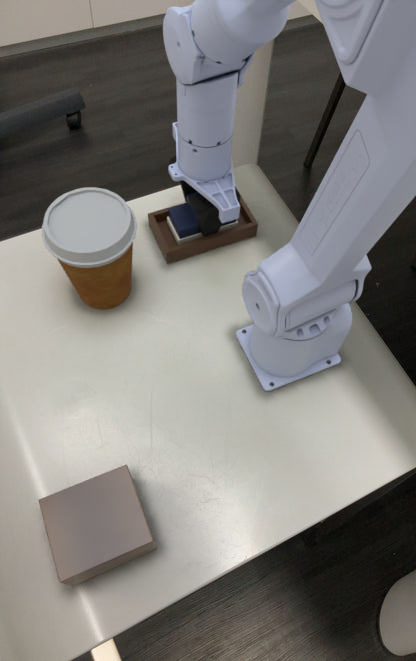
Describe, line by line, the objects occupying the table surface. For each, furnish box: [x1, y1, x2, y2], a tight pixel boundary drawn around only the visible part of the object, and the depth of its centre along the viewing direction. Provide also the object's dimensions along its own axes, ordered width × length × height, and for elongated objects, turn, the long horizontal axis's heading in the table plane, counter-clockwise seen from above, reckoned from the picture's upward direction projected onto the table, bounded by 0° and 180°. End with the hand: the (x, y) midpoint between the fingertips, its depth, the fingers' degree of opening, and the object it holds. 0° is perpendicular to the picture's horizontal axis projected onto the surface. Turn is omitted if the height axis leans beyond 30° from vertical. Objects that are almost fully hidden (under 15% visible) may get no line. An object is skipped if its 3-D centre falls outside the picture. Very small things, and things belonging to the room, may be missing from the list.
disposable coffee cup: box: [41, 186, 138, 310], centre depth 56 cm, size 10×10×12 cm
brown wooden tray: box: [147, 194, 259, 265], centre depth 65 cm, size 12×7×2 cm, turn 113°
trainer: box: [167, 192, 238, 245], centre depth 63 cm, size 8×4×5 cm, turn 113°
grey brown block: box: [38, 464, 157, 587], centre depth 46 cm, size 8×7×5 cm
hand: (202, 219), depth 64 cm, fingers closed on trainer, 4 cm apart
